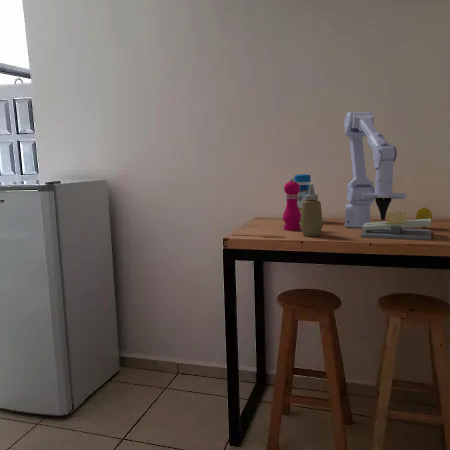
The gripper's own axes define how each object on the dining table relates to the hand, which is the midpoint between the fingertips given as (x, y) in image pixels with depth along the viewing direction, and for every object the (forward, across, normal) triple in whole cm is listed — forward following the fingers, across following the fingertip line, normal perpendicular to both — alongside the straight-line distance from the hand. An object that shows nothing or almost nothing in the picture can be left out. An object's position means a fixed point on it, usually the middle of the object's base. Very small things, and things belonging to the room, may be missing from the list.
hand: (383, 219), depth 161 cm
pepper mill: (+5, -34, +3) cm, 34 cm away
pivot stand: (+5, +4, 0) cm, 7 cm away
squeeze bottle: (+5, -24, -8) cm, 25 cm away
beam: (+3, +5, 0) cm, 6 cm away
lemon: (+5, +13, +16) cm, 21 cm away
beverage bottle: (+5, -35, +24) cm, 42 cm away
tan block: (+1, +4, 0) cm, 5 cm away
